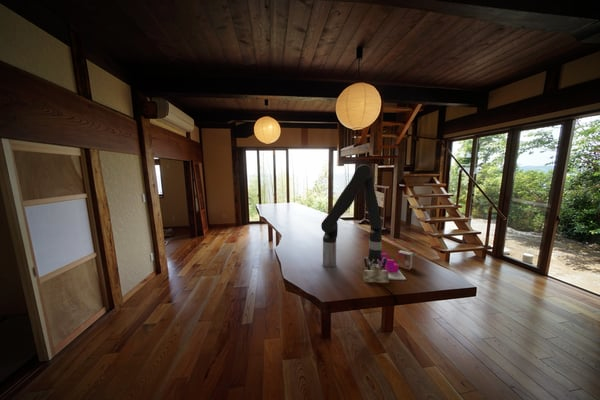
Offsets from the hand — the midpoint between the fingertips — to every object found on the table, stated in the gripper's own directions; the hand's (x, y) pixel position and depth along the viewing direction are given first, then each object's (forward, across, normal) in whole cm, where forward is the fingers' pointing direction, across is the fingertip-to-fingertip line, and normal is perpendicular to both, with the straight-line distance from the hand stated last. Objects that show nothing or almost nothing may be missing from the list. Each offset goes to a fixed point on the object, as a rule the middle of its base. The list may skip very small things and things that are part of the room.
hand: (374, 273), depth 131 cm
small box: (+1, +23, +13) cm, 26 cm away
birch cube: (+1, 0, 0) cm, 1 cm away
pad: (+1, +11, 0) cm, 11 cm away
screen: (+1, -1, -8) cm, 8 cm away
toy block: (+1, +12, +10) cm, 15 cm away
